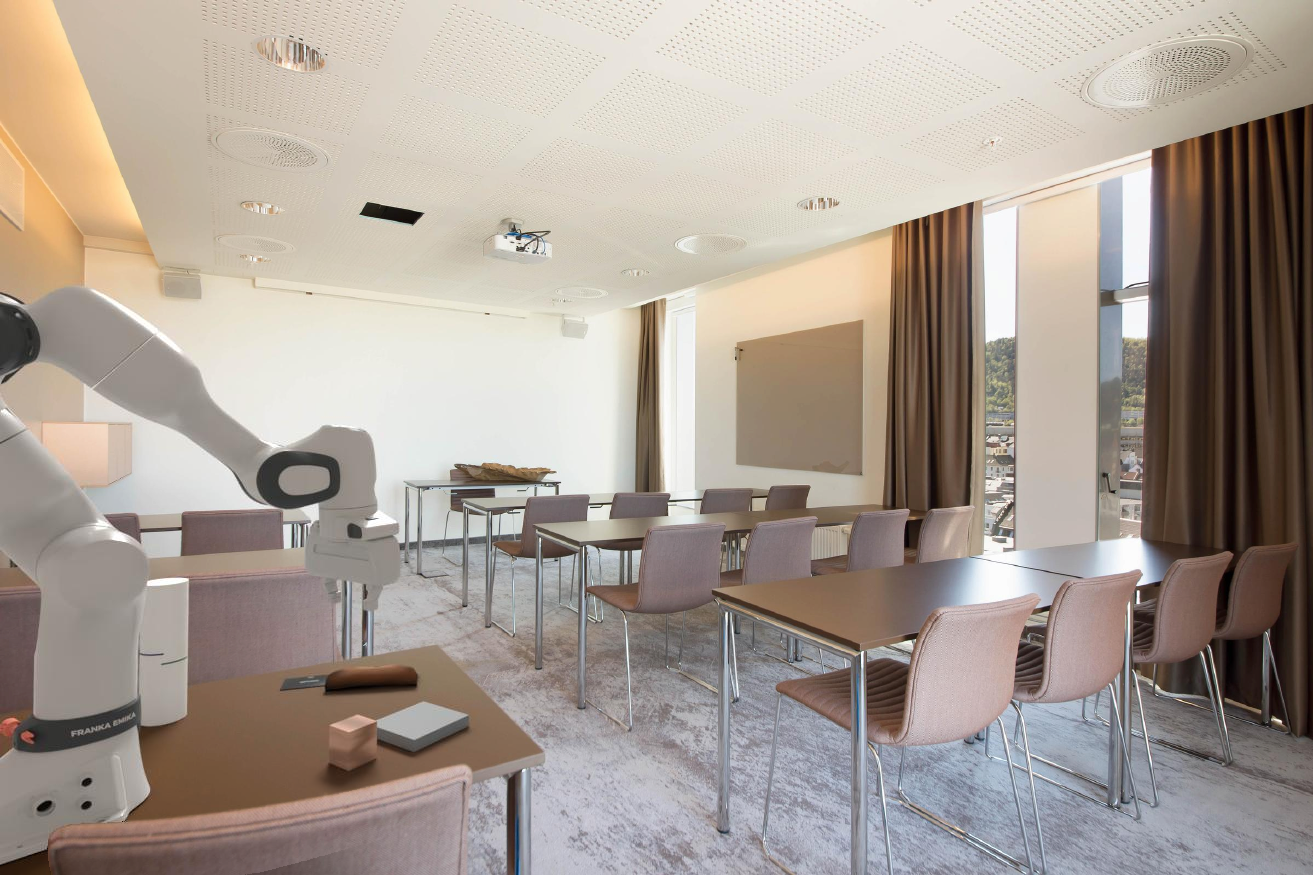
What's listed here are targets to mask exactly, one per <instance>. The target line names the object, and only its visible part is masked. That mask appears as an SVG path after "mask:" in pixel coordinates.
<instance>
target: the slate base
mask: <svg viewBox="0 0 1313 875" xmlns="http://www.w3.org/2000/svg"><path fill="white" fill-rule="evenodd" d="M375 721H377V740H379V741H382V742H384V743H387V744H390V745H394V746H396V747H398V748H401V749H404V750H406V751H409V752H413V753H415V752H418V751H420V750H421V749H424V748H426V747H428V746H430V745H432V744H435V743H436V742H437V743H438V741H441V740H443V739H445V738H447V737H449V736H452V735H453V734H455V733H457V732H460V731H462V730H463V729H466V728H468V727H469V726H470V714H468V713H463V712H461V711H457V710H454V709H450V708H446V707H444V706H442V705H441V706H440V705H437V704H433V703H430V702H428V701H424V700H423V701H421V702H418V703H417V704H413V705H412V706H409V707H406V708H404V709H400V710H398V711H396V712H394V713H391V714H388V715H386V716H384V717H382V718H379V719H376V720H375Z"/></svg>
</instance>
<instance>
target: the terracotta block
mask: <svg viewBox="0 0 1313 875" xmlns="http://www.w3.org/2000/svg"><path fill="white" fill-rule="evenodd" d="M328 727H329V732H328V734H329V736H328V738H329V739H328V740H329V742H328V763H329V764H331V765H334V766H335V767H338V768H340V769H343V770H344V771H348V772H349V771H352V770H353V769H356V768H358V767H360V766H363V765H365V764H367V763H369V762H371V761H375V760H376V759H377V758H378V757H377V756H378V755H377V754H378V753H377V752H378V751H377V749H378V748H377V747H378V739H377V721H376V720H375V719H372V718H368V717H367V716H366V717H365V716H363V715H360V714H355V715H353V716H350V717H348V718H345V719H342V720H340V721H337V722H334V723H331V724H329V726H328Z"/></svg>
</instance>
